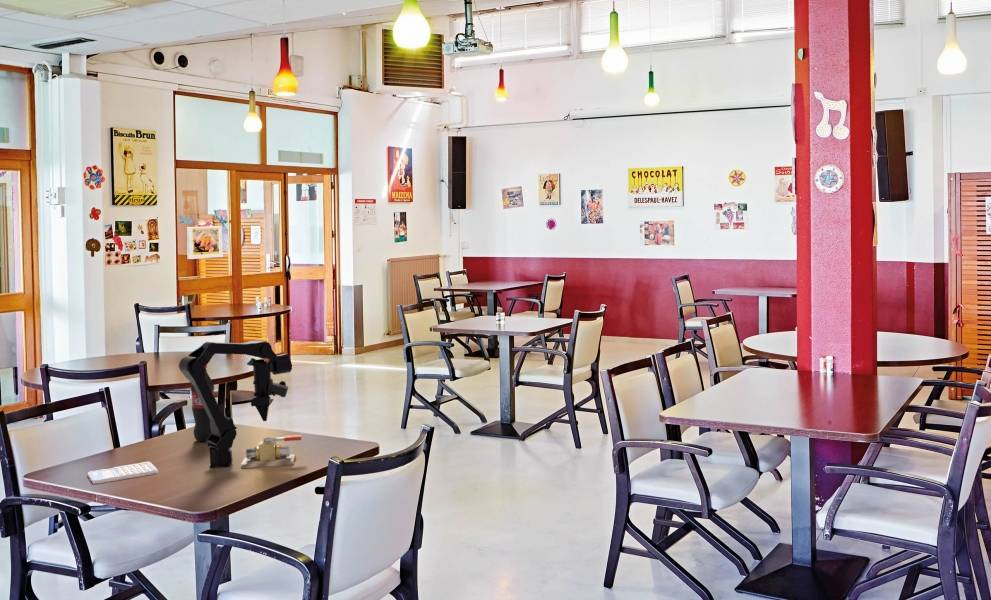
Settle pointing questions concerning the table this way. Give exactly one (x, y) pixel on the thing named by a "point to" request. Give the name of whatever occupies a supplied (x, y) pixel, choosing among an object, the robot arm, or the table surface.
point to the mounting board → (268, 462)
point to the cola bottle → (201, 413)
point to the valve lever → (284, 438)
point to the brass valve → (268, 452)
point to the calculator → (122, 472)
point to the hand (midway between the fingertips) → (265, 421)
